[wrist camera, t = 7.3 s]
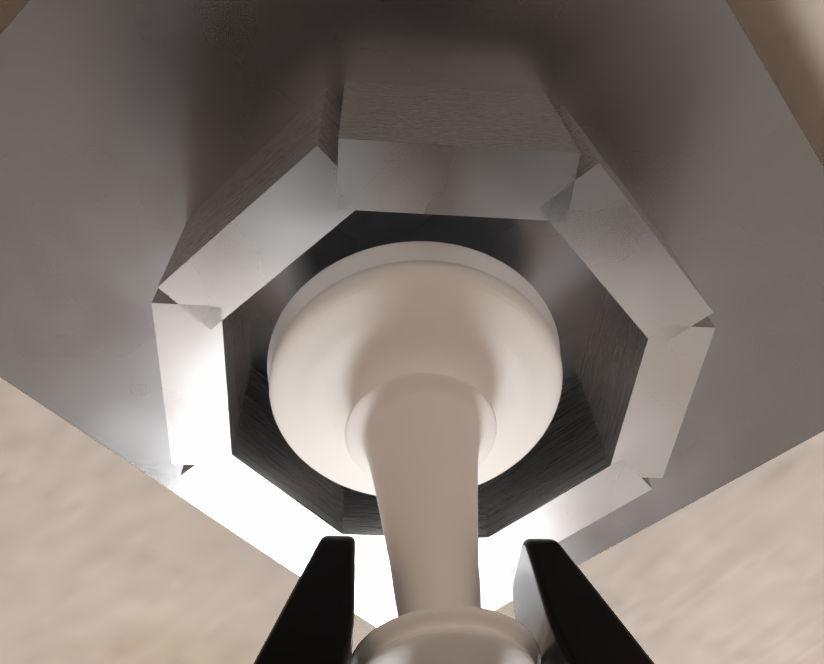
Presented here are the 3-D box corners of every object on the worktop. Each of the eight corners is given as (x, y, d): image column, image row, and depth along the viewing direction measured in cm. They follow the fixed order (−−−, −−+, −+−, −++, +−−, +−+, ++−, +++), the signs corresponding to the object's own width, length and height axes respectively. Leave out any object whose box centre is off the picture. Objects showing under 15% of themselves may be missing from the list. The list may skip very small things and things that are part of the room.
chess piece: (273, 224, 12) (64, 1271, 3) (592, 255, 12) (1086, 1203, 4) (262, 467, 14) (133, 1376, 6) (524, 482, 15) (731, 1327, 7)
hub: (-153, 227, 14) (-287, 335, 11) (435, -463, 10) (462, -577, 7) (414, 620, 21) (420, 748, 19) (912, 339, 17) (1025, 451, 14)
